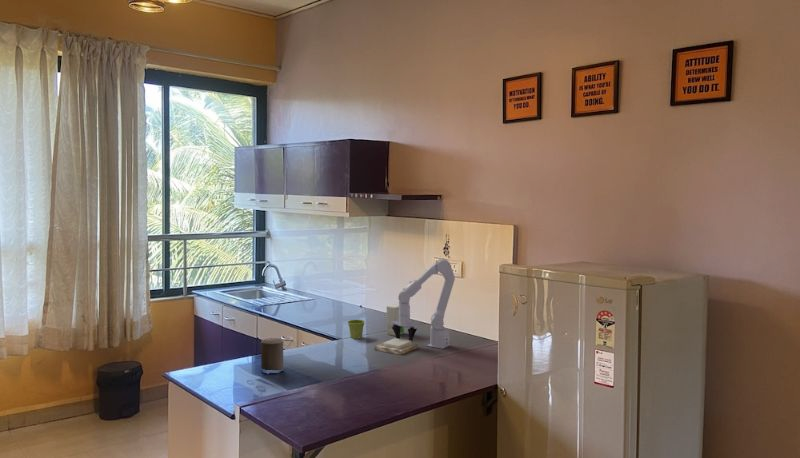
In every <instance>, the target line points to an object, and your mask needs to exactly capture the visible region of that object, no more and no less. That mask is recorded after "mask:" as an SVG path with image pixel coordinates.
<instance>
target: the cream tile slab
mask: <svg viewBox="0 0 800 458" xmlns="http://www.w3.org/2000/svg"><path fill="white" fill-rule="evenodd" d="M382 343H383V346H384V347H389V348H394V349H403V348H405V347H408V346H410V345H413V342H412V341H410V340H409V339H403V338H400V339H398V338H396V337H394V338H391V339H390V340H386V341H384V342H382Z"/></svg>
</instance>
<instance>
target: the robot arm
mask: <svg viewBox="0 0 800 458" xmlns="http://www.w3.org/2000/svg"><path fill="white" fill-rule="evenodd" d="M437 274H438V275H439V274H441V275H442V276H443V278H444V282H443V286H442V289H441V292H440V296H439V298H438V302H437V305H436V308H435V311H434V313H433V315H432V316H431V317H430V321H431V322H430V325H431V326H430V327H429V329H430V330H429V331H430V332H429V335H430V336H429V337H430V338H429V340H430V341H429V342H430V343H428V344H427V345H426V346H427V347H432V348H437V349H442V350H443V349H445V348H448V347H450V346H451V344H450V343H451V342H450V340H451V339H450V338H451V337H450V336H451V335H450V331H449V330H448V329H446V328H445V326H444V325H445V322H444V318H445V314H446V313H445V312H446V309H447V306H448V303H449V299H450V296H451V294H452V293H451V292H452V290H453V288H454V287H453V286H454V283H455V281H456V277H455V274H454V271H453V269H452V264H450V262H449V261H448V260H447V259H446V258H439V259H438V260H437V261H436V262H434V263H433V264H432V265H430V267H428V268H427V270H426V271H424V272H423V274H421V276H420V277H419V278H418V279H414V280H413V279H412V280H410V281H409V282H408V283H409V284H408V285H406V287H404V288H402V290H401V291H400V292H399V294H398V298H397V299H398V305H399V321H392V326H393V327H392V329H393V331H394V333H395V335H396V336H395V338H398V339H401V334H400V330H401V326H402V327H404V328H408V329H407V333H408V340H410V341H412V343H413V341H414V337H415V334H416V332H417V331H418V329H419V328H418V327H419V326H418V323H413V322H411V306H410V301H411V298H412V297H414V296H415V295H416V294H417V293H418V292H419V291H420V290H421V289H422V285H423V284H424V283H425V282H426V281H427V280H428V279H429V278H431V277H432V276H433V275H437Z"/></svg>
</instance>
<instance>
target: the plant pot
mask: <svg viewBox="0 0 800 458" xmlns="http://www.w3.org/2000/svg"><path fill="white" fill-rule="evenodd" d="M347 323H348V327H349V335H350V338H352V339H354V340H355V339H356V340H358V339H362V338H363V333H364V332H363V331H364V326H365V323H366V321H365V320H363V319H351V320H348V321H347Z"/></svg>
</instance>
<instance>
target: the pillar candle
mask: <svg viewBox="0 0 800 458" xmlns="http://www.w3.org/2000/svg"><path fill="white" fill-rule="evenodd" d="M260 353H261V355H260V363H261V364H260V365H261V366H260V367H261V368H262V369H265V370H282V369H284V340H283V339H282V338H277V337H276V338H275V337H271V338H264V339H261V341H260ZM261 368H260V369H261Z"/></svg>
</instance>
